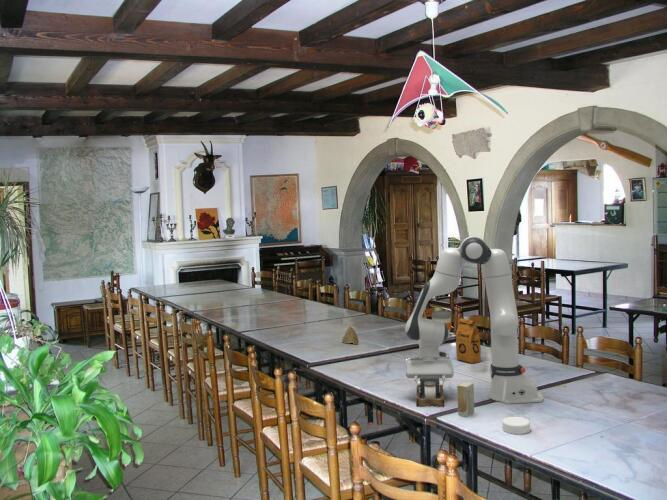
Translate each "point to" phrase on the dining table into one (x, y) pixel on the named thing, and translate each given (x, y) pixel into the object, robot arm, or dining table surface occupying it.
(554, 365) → the dining table surface
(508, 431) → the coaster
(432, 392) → the jar
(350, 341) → the rock
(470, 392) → the skincare box
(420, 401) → the brown wooden rectangular frame
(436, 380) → the bar
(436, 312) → the reusable coffee cup
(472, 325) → the coffee package
